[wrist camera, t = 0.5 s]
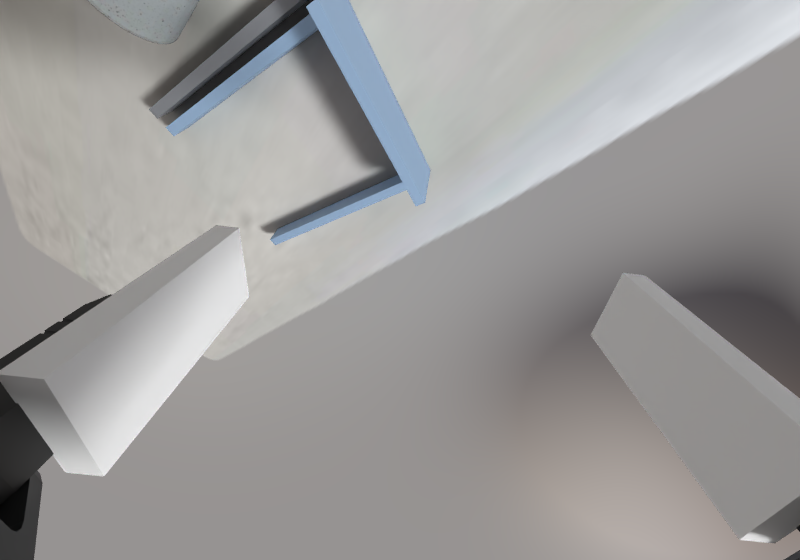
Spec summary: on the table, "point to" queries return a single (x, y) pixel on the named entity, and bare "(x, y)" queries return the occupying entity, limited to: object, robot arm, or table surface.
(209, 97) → the frame
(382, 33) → the table surface
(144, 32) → the ceramic mug
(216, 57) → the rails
